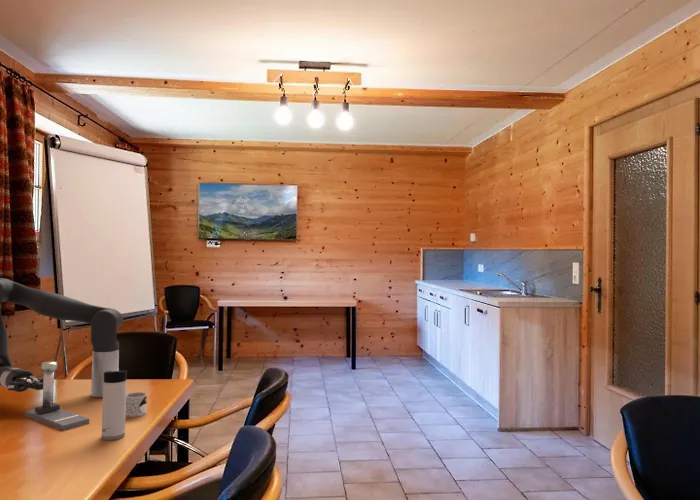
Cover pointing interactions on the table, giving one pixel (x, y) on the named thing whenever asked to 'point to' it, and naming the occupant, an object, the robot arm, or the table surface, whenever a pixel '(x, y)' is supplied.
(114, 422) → the travel mug
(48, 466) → the table surface
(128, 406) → the mug
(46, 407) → the fader
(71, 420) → the fader panel
